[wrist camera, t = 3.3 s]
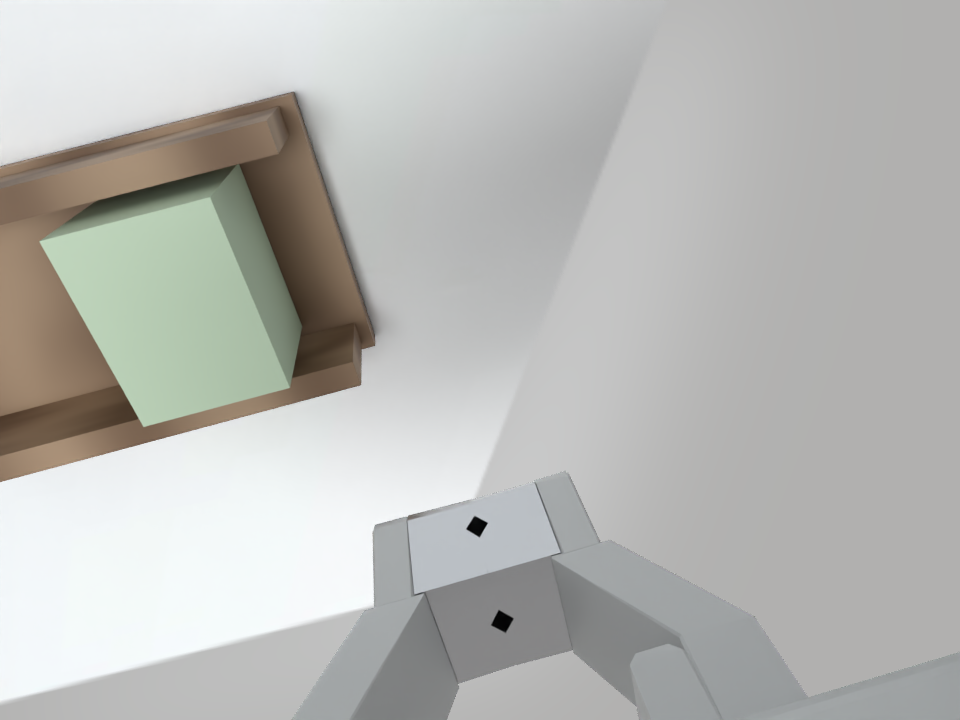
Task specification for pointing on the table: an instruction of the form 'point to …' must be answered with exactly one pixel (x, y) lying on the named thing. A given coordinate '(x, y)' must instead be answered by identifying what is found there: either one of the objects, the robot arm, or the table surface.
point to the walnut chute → (62, 331)
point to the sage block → (181, 294)
